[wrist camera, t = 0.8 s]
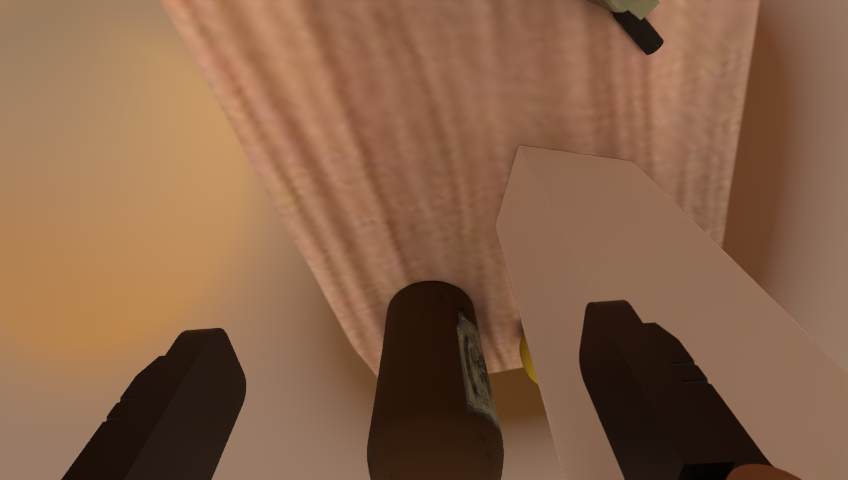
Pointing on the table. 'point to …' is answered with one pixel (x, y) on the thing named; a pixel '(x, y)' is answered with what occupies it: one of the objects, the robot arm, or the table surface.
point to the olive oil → (433, 392)
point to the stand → (657, 312)
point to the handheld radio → (635, 21)
